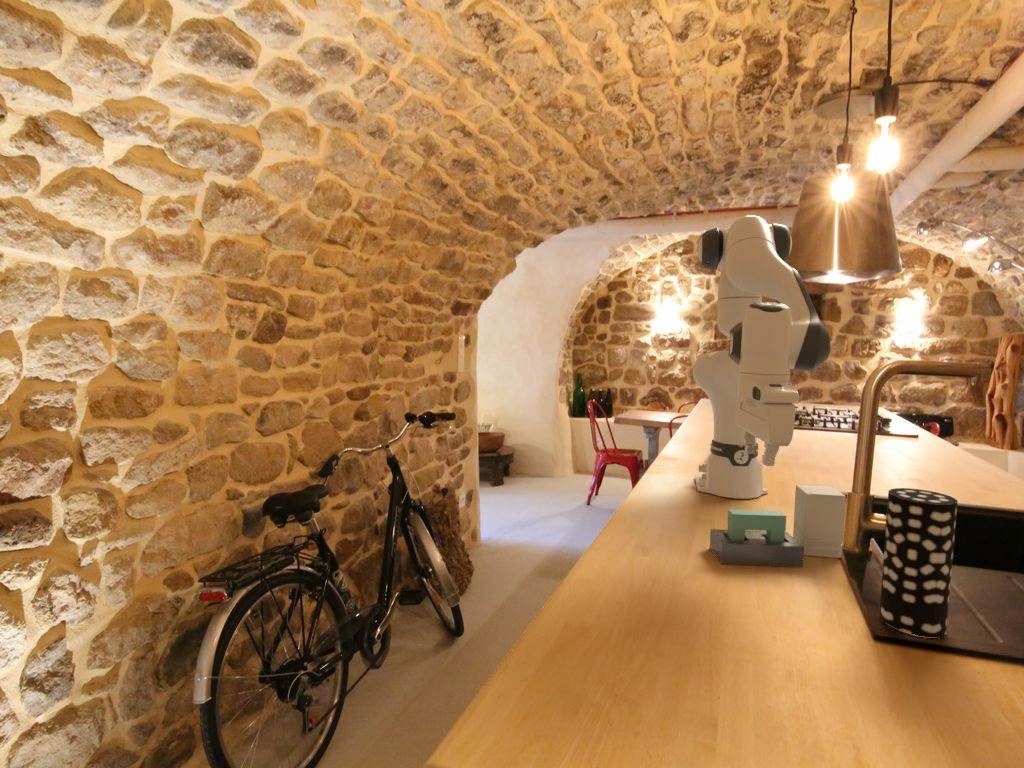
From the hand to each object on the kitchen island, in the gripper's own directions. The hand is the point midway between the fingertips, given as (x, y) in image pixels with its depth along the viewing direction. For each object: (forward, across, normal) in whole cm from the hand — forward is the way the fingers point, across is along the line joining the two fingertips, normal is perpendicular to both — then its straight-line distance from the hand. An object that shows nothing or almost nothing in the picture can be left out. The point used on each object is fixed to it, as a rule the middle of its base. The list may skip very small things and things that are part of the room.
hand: (758, 458), depth 109 cm
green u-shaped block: (+20, 0, 0) cm, 20 cm away
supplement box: (+20, -4, +14) cm, 25 cm away
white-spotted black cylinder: (+19, +24, +15) cm, 35 cm away
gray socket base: (+20, +1, 0) cm, 20 cm away
